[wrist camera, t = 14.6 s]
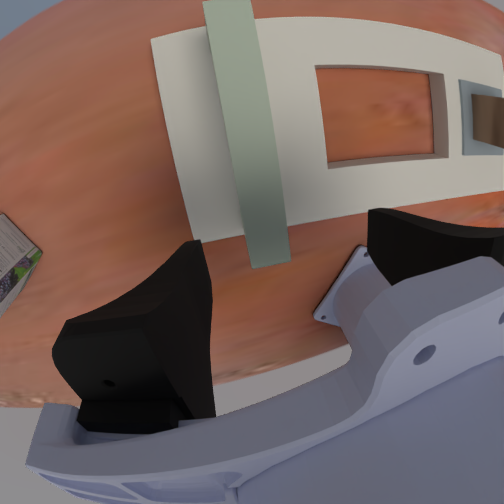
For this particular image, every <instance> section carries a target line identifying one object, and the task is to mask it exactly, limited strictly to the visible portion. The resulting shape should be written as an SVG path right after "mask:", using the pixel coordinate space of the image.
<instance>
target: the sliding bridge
mask: <svg viewBox="0 0 504 504" xmlns="http://www.w3.org/2000/svg"><path fill="white" fill-rule="evenodd" d="M203 10H204V17H205V24H206V30H207V36H208V42H209V47H210V53H211V54H212V60H213V65H214V71H215V76H216V82H217V87H218V92H219V98H220V103H221V109H222V114H223V119H224V125H225V130H226V136H227V141H228V146H229V152H230V157H231V162H232V168H233V173H234V178H235V184H236V189H237V194H238V200H239V205H240V214H241V219H242V224H243V229H244V234H245V239H246V243H247V248H248V253H249V257H250V262H251V267H252V269H255V268H260V267H265V266H270V265H275V264H280V263H285V262H290V261H291V255H290V246H289V237H288V229H287V220H286V212H285V204H284V197H283V189H282V182H281V174H280V167H279V160H278V153H277V146H276V140H275V133H274V127H273V120H272V114H271V108H270V102H269V96H268V90H267V84H266V78H265V73H264V67H263V62H262V56H261V51H260V46H259V40H258V35H257V30H256V25H255V20H254V15H253V10H252V6H251V1H250V0H211V1H205V2H203Z"/></svg>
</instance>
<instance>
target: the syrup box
mask: <svg viewBox="0 0 504 504" xmlns="http://www.w3.org/2000/svg"><path fill="white" fill-rule="evenodd" d="M41 255H42V252H41V251H40V250H39V249H38V248H37V247H36V246H35V245H34V244H33V243H32V242H31V241H30V240H29V239H28V238H27V237H26V236H25V235H24V234H23V233H22V232H21V231H20V230H19V229H18V228H17V227H16V226H15V225H14V224H13V223H12V222H11V221H10V220H9V219H8V218H7V217H6V216H5V215H4V214H2V215H0V318H1V316H2V315H3V314H4V312H5V311H6V310H7V308H8V307H9V306H10V305H11V303H12V302H13V301H14V300H15V298H16V297H17V296H18V294H19V293H20V292H21V291H22V290H23V288H24V287H25V285H26V283H27V281H28V280H29V278H30V276H31V274H32V272H33V270H34V268H35V266H36V264H37V263H38V261H39V259H40V257H41Z"/></svg>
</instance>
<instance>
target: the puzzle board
mask: <svg viewBox="0 0 504 504" xmlns="http://www.w3.org/2000/svg"><path fill="white" fill-rule="evenodd" d="M254 20H255V25H256V30H257V35H258V40H259V46H260V51H261V56H262V62H263V67H264V73H265V78H266V84H267V90H268V96H269V102H270V108H271V114H272V120H273V127H274V133H275V140H276V146H277V153H278V160H279V167H280V174H281V182H282V189H283V197H284V204H285V212H286V220H287V226H292V225H297V224H303V223H308V222H314V221H319V220H325V219H330V218H336V217H341V216H347V215H353V214H358V213H364V212H368V209H375V208H393V207H399V206H405V205H411V204H417V203H423V202H430V201H436V200H442V199H449V198H455V197H462V196H468V195H475V194H481V193H488V192H495V191H502V190H504V149H503V148H500V147H497V146H494V145H491V144H487V143H484V142H480V141H477V140H473V113H472V98H471V94H478V95H487V96H494V97H501V98H504V72H503V66H502V59H501V55H499V54H496V53H494V52H491V51H489V50H486V49H484V48H481V47H478V46H476V45H473V44H470V43H467V42H464V41H461V40H458V39H454V38H451V37H448V36H444V35H441V34H437V33H433V32H429V31H425V30H421V29H416V28H412V27H407V26H401V25H396V24H390V23H383V22H376V21H368V20H359V19H348V18H333V17H279V18H263V19H254ZM151 45H152V51H153V57H154V63H155V69H156V75H157V80H158V85H159V91H160V96H161V101H162V106H163V111H164V116H165V121H166V126H167V130H168V135H169V140H170V144H171V149H172V153H173V158H174V162H175V166H176V170H177V175H178V179H179V183H180V187H181V191H182V195H183V199H184V203H185V207H186V211H187V215H188V219H189V223H190V227H191V230H192V234H193V238H194V240H198V239H200V240H201V243H204V242H209V241H214V240H219V239H224V238H229V237H234V236H240V235H245V234H244V229H243V224H242V219H241V214H240V205H239V200H238V194H237V189H236V184H235V178H234V173H233V168H232V162H231V157H230V152H229V146H228V141H227V136H226V130H225V125H224V119H223V114H222V109H221V103H220V98H219V92H218V87H217V82H216V76H215V71H214V65H213V60H212V54H211V53H210V47H209V42H208V36H207V30H206V26H204V27H198V28H193V29H189V30H184V31H180V32H176V33H172V34H168V35H164V36H160V37H157V38H153V39H151ZM317 68H365V69H384V70H397V71H407V72H415V73H423V74H429V81H430V90H431V100H432V112H433V130H434V153H432V154H413V155H399V156H386V157H375V158H364V159H355V160H345V161H337V162H329V163H327V155H326V145H325V136H324V128H323V120H322V112H321V105H320V98H319V91H318V84H317V78H316V72H315V69H317Z"/></svg>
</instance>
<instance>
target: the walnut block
mask: <svg viewBox="0 0 504 504" xmlns="http://www.w3.org/2000/svg"><path fill="white" fill-rule="evenodd" d="M471 98H472V113H473V140H477V141H480V142H484V143H487V144H491V145H494V146H497V147H500V148H503V149H504V98H501V97H494V96H487V95H478V94H471Z"/></svg>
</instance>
